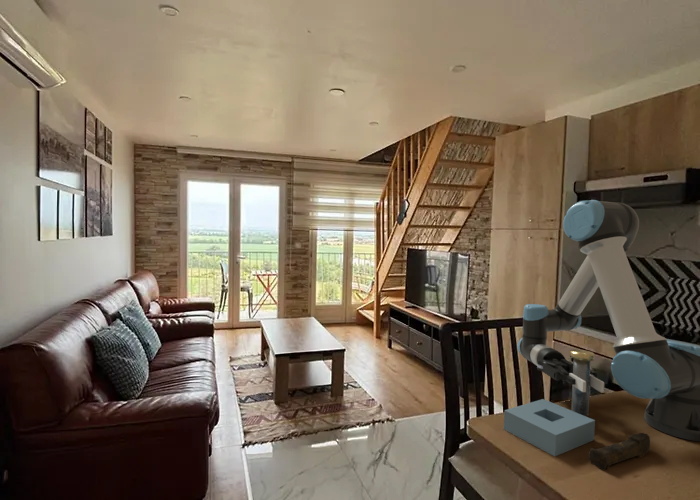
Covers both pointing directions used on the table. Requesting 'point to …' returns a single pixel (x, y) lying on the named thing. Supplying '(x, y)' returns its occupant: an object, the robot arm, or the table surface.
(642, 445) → the dark brown wooden club
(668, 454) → the table surface
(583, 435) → the socket block
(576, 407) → the pin
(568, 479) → the table surface
